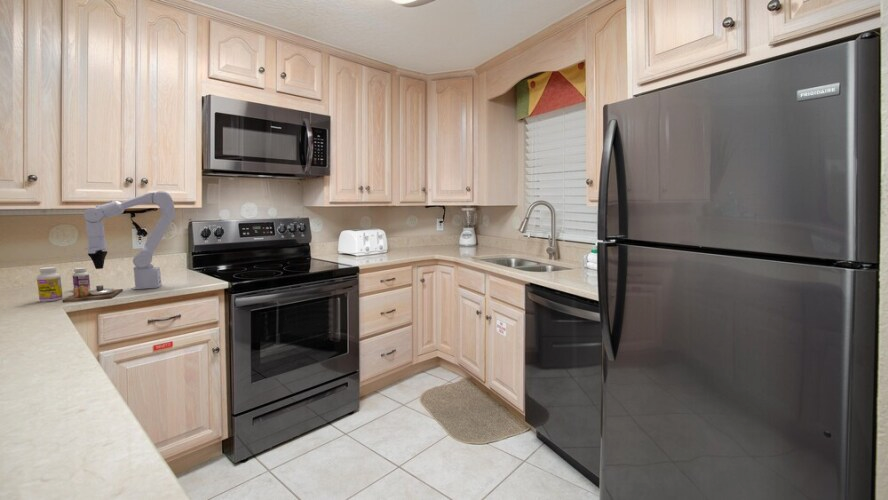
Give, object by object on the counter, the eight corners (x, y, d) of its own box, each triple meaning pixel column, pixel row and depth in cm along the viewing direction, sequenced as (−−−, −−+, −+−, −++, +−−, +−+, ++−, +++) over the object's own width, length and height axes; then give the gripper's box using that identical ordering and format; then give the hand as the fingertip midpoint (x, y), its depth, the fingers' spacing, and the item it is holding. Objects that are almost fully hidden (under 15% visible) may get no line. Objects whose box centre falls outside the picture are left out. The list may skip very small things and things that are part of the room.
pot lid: (108, 289, 173) (108, 281, 172) (118, 292, 168) (117, 284, 168) (70, 295, 162) (69, 287, 162) (79, 298, 157) (78, 289, 157)
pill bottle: (80, 291, 176) (78, 269, 174) (70, 291, 177) (68, 269, 176) (93, 288, 181) (91, 267, 180) (84, 288, 182) (81, 267, 181)
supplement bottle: (35, 303, 156) (31, 269, 154) (44, 299, 162) (40, 267, 160) (58, 301, 158) (54, 268, 157) (66, 297, 164) (62, 266, 163)
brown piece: (122, 291, 176) (121, 278, 175) (111, 298, 162) (110, 284, 162) (78, 294, 170) (76, 281, 169) (62, 302, 156) (61, 288, 155)
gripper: (90, 235, 177) (93, 266, 179) (77, 238, 164) (80, 271, 166) (110, 235, 180) (113, 265, 182) (99, 237, 167) (102, 270, 169)
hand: (99, 268), depth 174 cm, fingers closed
